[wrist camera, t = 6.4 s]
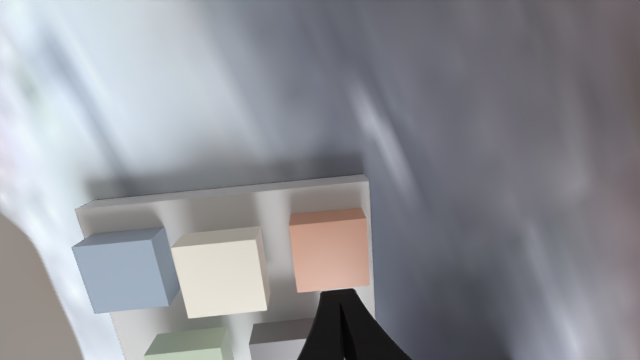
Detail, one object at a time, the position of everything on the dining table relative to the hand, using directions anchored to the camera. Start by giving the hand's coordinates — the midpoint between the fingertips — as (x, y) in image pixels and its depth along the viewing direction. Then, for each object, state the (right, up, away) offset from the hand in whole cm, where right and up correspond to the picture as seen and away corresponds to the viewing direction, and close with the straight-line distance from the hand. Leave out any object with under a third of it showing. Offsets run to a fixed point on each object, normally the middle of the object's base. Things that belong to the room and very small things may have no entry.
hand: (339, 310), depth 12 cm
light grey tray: (-6, -1, +8) cm, 9 cm away
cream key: (-6, +1, +4) cm, 7 cm away
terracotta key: (0, +2, +5) cm, 6 cm away
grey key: (-2, -5, +6) cm, 8 cm away
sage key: (-8, -5, +6) cm, 11 cm away
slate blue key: (-11, +1, +5) cm, 12 cm away
